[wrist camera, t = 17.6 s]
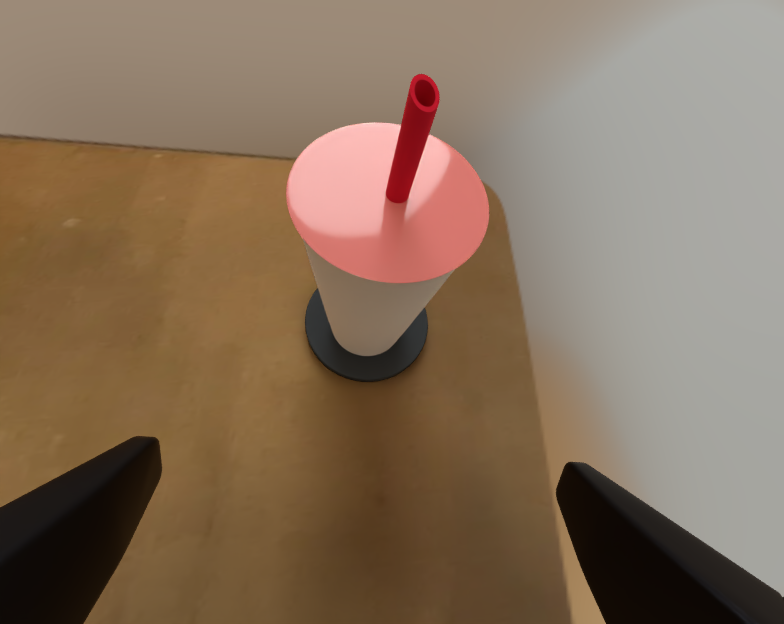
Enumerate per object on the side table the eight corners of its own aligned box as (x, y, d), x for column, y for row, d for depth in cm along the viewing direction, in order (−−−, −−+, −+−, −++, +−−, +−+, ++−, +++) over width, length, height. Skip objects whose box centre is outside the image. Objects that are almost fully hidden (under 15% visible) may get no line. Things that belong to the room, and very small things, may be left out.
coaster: (396, 404, 17) (398, 402, 16) (281, 346, 17) (280, 343, 17) (443, 300, 19) (445, 297, 19) (342, 252, 19) (342, 248, 19)
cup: (434, 361, 17) (600, 169, 6) (322, 389, 16) (292, 208, 5) (402, 266, 19) (488, -5, 8) (300, 284, 18) (245, -7, 7)
